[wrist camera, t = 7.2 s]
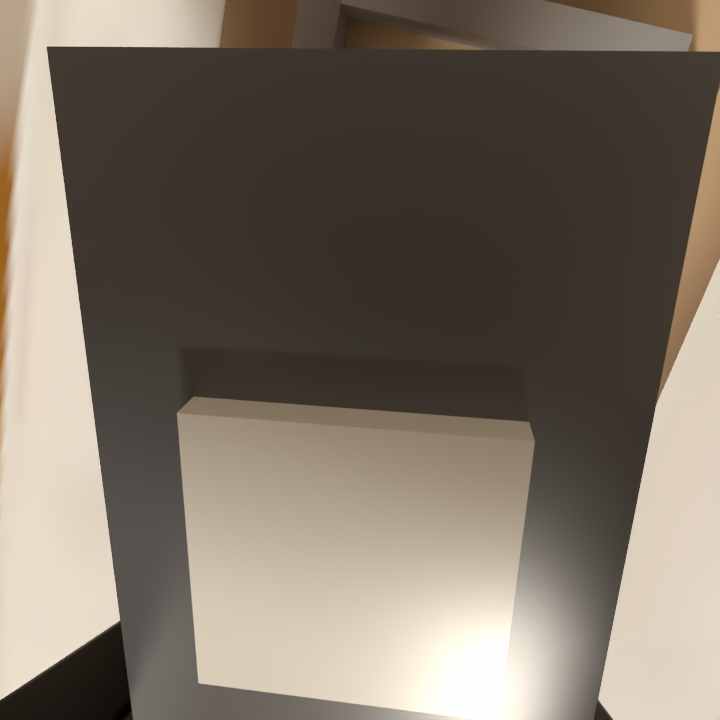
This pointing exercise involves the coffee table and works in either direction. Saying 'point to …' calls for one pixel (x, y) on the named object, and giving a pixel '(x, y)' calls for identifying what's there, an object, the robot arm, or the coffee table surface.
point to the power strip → (375, 363)
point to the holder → (516, 32)
